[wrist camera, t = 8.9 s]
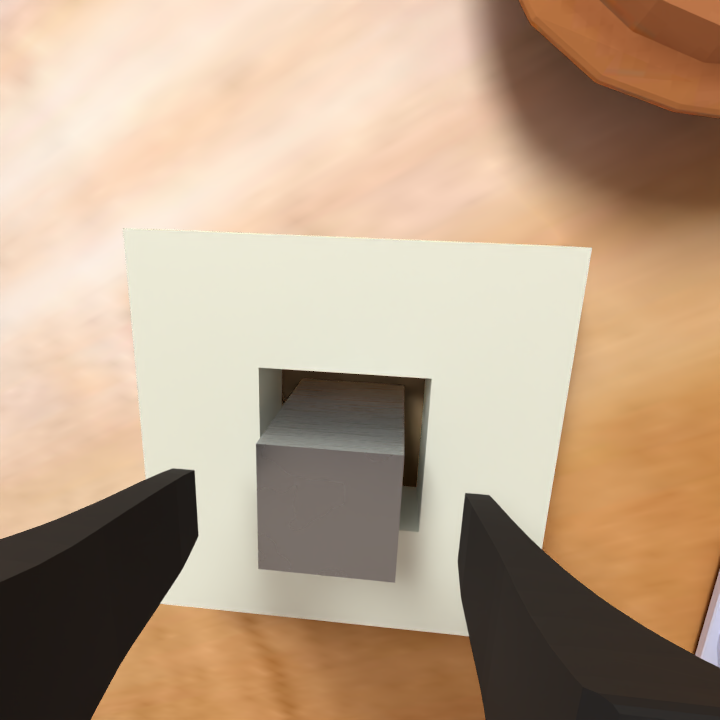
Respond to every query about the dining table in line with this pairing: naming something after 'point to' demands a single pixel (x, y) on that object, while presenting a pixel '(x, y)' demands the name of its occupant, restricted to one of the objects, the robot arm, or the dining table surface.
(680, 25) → the pie
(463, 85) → the dining table surface
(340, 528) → the peg
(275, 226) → the dining table surface
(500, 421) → the socket block
